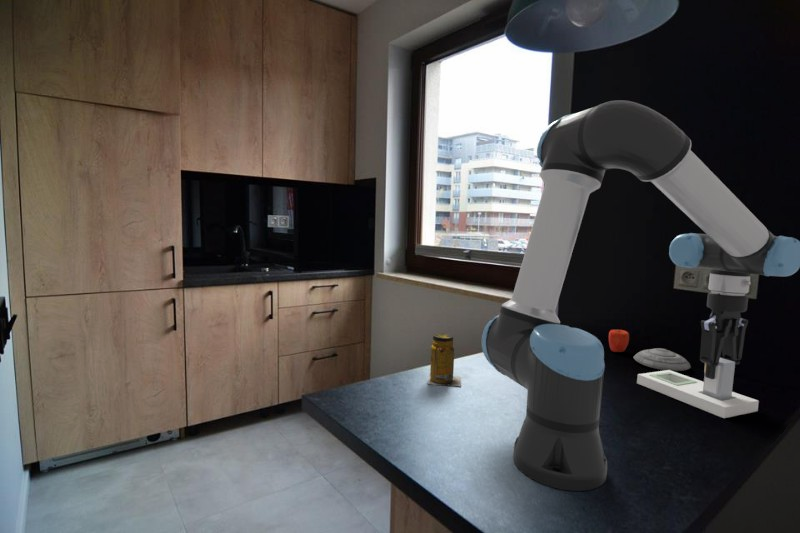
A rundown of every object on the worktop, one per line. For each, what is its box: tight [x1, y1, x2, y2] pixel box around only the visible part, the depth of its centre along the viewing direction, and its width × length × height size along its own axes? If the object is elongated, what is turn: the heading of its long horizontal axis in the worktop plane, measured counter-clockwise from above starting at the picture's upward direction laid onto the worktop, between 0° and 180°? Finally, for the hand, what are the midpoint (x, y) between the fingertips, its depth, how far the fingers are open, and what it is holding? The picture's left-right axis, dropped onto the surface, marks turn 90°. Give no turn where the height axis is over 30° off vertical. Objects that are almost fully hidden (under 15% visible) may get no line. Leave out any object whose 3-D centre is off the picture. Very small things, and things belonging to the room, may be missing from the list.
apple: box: [608, 329, 630, 353], centre depth 146 cm, size 6×6×8 cm
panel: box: [636, 370, 760, 419], centre depth 108 cm, size 12×22×3 cm, turn 22°
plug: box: [703, 357, 736, 401], centre depth 103 cm, size 4×5×11 cm
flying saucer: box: [633, 347, 692, 372], centre depth 132 cm, size 15×15×6 cm
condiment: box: [427, 333, 462, 387], centre depth 113 cm, size 7×8×12 cm
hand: (717, 390), depth 103 cm, fingers closed on plug, 4 cm apart
